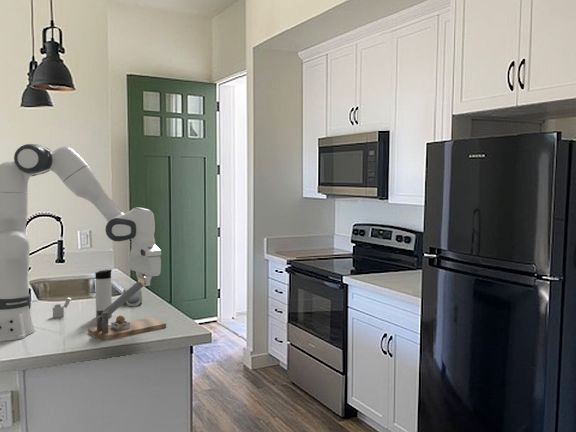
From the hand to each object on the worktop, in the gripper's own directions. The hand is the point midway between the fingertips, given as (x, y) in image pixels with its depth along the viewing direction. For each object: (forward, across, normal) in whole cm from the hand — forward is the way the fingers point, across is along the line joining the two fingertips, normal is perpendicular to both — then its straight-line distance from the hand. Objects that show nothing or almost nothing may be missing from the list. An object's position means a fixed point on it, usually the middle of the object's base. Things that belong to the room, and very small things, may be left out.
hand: (144, 284), depth 205 cm
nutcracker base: (+17, 0, -7) cm, 18 cm away
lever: (+6, 0, -7) cm, 9 cm away
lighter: (+17, -36, -19) cm, 44 cm away
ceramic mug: (+17, -37, +14) cm, 43 cm away
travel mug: (+17, -24, -6) cm, 30 cm away
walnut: (+12, 0, -10) cm, 16 cm away
